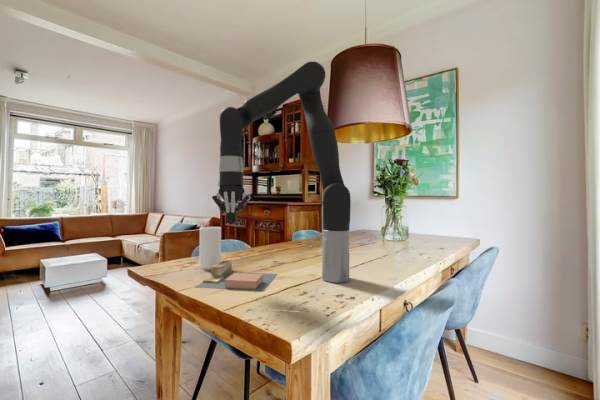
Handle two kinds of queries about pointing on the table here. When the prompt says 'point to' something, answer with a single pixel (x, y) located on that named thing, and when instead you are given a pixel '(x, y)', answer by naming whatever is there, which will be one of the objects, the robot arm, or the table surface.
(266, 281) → the mat
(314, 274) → the table surface
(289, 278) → the table surface
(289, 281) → the table surface
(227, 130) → the robot arm
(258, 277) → the tile
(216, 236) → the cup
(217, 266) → the beige pillar on base
